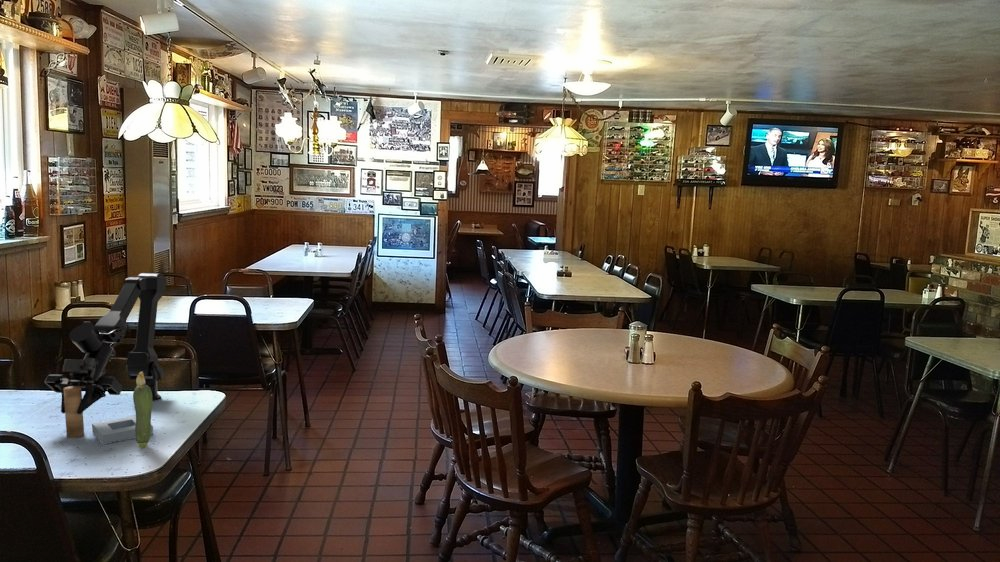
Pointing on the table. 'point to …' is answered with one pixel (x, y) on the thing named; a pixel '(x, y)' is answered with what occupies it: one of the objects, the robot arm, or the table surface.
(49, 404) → the table surface
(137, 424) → the vegetable
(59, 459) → the table surface
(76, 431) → the peg
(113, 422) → the socket
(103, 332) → the robot arm
